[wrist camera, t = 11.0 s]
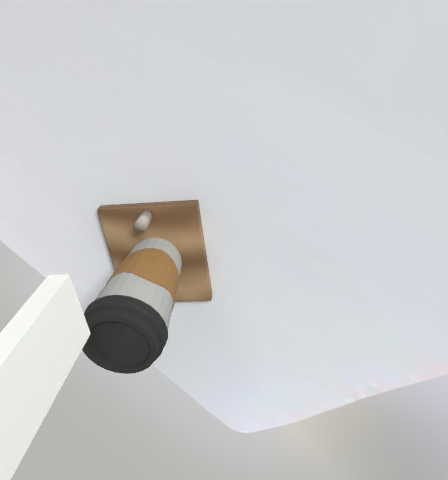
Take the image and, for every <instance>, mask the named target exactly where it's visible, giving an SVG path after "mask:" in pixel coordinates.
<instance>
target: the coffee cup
mask: <svg viewBox="0 0 448 480" xmlns="http://www.w3.org/2000/svg"><path fill="white" fill-rule="evenodd" d="M181 267H182V259H181V256H180V254H179V252H178V250H177V249H176V247H175V246H174V245H173V244H172V243H170V242H169V241H167V240H164V239H162V238H155V237H154V238H147V239H144V240H141V241H140V242H138V243H137V244H136V245H135V246H134V248H133V249H132V250H131V252H130V253H129V254H128V256H127V257H125V259H124V260H123V261H122V263H121V264H120V266H119V267H118V268H117V270H116V271H115V272H114V274H113V275H112V276H111V278H110V279H109V281H108V282H107V284H106V286H105V287H104V289H103V290H102V291H101V293H100V294H99V296H98V297H97V298H96V300H95V301H93V302H92V303H91V304H89V306H88V307H87V309H86V310H85V313H84V316H85V319H86V322H87V325H88V327H89V330H90V333H91V334H90V336H89V338H88V339H87V341H86V343H85V345H84V347H83V349H82V350H83V352H84V353H85V354H86V356H87V357H88V358H89V359H90V360H92V361H93V362H94V363H95V364H97V365H98V366H100V367H102V368H104V369H106V370H110V371H113V372H117V373H136V372H140V371H143V370H144V369H146V368H148V367H150V365H151V364H152V363H153V362H154V361H155V360H156V359H157V358H158V357H159V356H160V355H161V353H162V350H163V348H164V346H165V344H166V342H167V339H168V325H169V321H170V316H171V312H172V310H173V307H174V302H175V298H176V293H177V288H178V284H179V276H180V271H181Z"/></svg>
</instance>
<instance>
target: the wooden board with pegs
mask: <svg viewBox="0 0 448 480" xmlns="http://www.w3.org/2000/svg"><path fill="white" fill-rule="evenodd" d="M97 211H98V215H99V218H100V221H101V225H102V228H103V232H104V235H105V238H106V242H107V245H108V248H109V252H110V255H111V258H112V262H113V265H114V268H115V271H116V270H117V268H118V267H119V266H120V264H121V263H122V261H123V260H124V259H125V257H127V256H128V254H129V253H130V252H131V250H132V249H133V248H134V246H135V245H136V244H137V243H138V242H140V241H141V240H144V239H147V238H154V237H155V238H162V239H164V240H167V241H169V242H170V243H172V244H173V245H174V246H175V247H176V249H177V250H178V252H179V254H180V256H181V259H182V267H181V271H180V276H179V284H178V288H177V293H176V298H175V301H210V300H211V299H212V289H211V283H210V276H209V269H208V263H207V256H206V250H205V243H204V237H203V230H202V223H201V217H200V210H199V204H198V200H188V201H171V202H154V203H137V204H120V205H103V206H100V207H99V208H98V209H97Z"/></svg>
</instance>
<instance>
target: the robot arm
mask: <svg viewBox="0 0 448 480" xmlns="http://www.w3.org/2000/svg"><path fill="white" fill-rule="evenodd" d="M90 334H91V333H90V330H89V327H88V325H87V322H86V319H85V316H84V313H83V311H82V308H81V305H80V302H79V299H78V297H77V294H76V291H75V288H74V285H73V283H72V280H71V277H70V274H63V275H48V276H47V278H46V279H45V280H44V281H43V282H42V284H41V285H40V286H39V287H38V289H37V290H36V291H35V292H34V293H33V294H32V296H31V297H30V298H29V299H28V301H27V302H26V303H25V304H24V305H23V306H22V308H21V309H20V310H19V311H18V313H17V314H16V315H15V316H14V317H13V319H12V320H11V321H10V322H9V323H8V325H7V326H6V327H5V328H4V329H3V331H2V332H1V333H0V480H11V478H12V477H13V475H14V473H15V471H16V469H17V467H18V466H19V464H20V462H21V460H22V458H23V456H24V455H25V453H26V451H27V449H28V447H29V445H30V443H31V442H32V440H33V438H34V436H35V435H36V433H37V431H38V429H39V427H40V425H41V424H42V422H43V420H44V418H45V416H46V414H47V412H48V410H49V409H50V407H51V405H52V403H53V402H54V400H55V398H56V396H57V394H58V392H59V391H60V389H61V387H62V385H63V383H64V381H65V379H66V378H67V376H68V374H69V372H70V370H71V369H72V367H73V365H74V363H75V361H76V360H77V358H78V356H79V354H80V352H81V350H82V349H83V347H84V345H85V343H86V341H87V339H88V338H89V336H90Z"/></svg>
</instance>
